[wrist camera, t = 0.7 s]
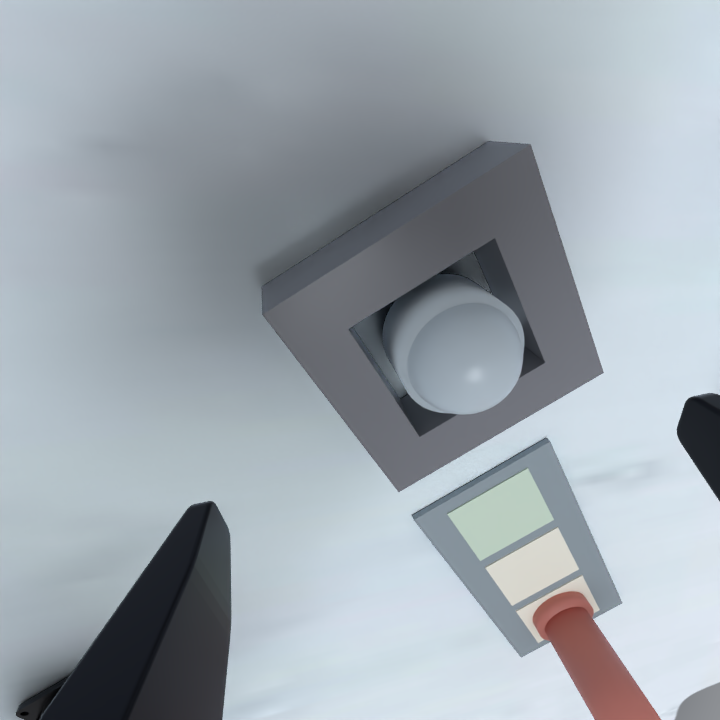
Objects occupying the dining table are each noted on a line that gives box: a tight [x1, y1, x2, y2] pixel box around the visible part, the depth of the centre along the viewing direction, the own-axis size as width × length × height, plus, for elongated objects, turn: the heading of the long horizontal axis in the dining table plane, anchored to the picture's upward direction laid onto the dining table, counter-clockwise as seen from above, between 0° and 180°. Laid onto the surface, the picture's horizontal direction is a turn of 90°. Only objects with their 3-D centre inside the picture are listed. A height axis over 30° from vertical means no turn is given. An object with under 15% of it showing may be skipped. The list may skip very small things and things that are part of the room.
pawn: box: [533, 591, 661, 720], centre depth 32 cm, size 5×5×13 cm
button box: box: [262, 141, 604, 492], centre depth 22 cm, size 12×12×4 cm
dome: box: [383, 274, 524, 415], centre depth 20 cm, size 6×6×5 cm
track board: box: [412, 438, 622, 657], centre depth 35 cm, size 10×22×1 cm, turn 30°
